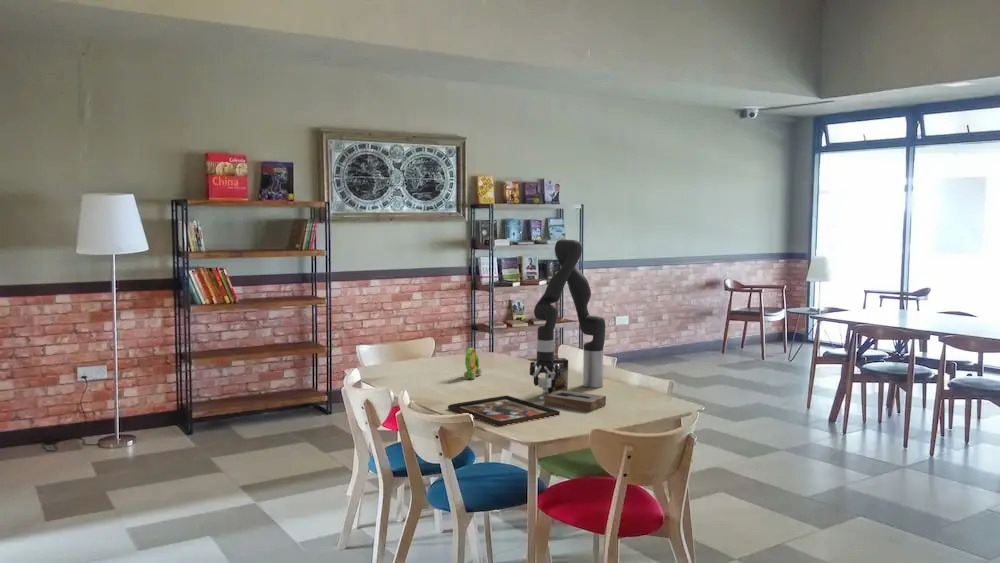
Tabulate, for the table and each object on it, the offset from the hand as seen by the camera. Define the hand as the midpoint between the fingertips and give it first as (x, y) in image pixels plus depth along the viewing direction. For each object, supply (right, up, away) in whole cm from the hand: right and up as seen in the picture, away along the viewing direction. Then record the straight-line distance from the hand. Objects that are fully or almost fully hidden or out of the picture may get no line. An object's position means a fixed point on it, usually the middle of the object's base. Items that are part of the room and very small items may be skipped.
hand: (544, 386), depth 354 cm
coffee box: (+6, -5, +11) cm, 13 cm away
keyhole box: (+12, -7, -10) cm, 17 cm away
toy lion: (-33, -2, +48) cm, 58 cm away
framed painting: (-18, -8, -23) cm, 31 cm away
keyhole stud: (0, -6, 0) cm, 6 cm away
